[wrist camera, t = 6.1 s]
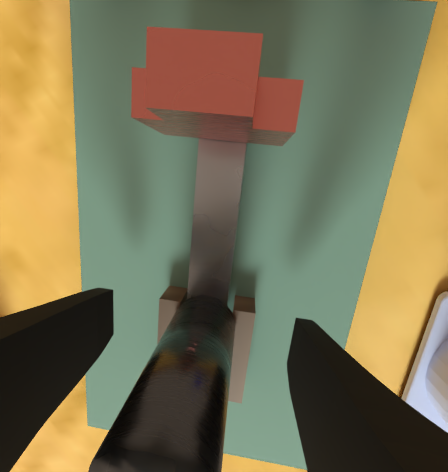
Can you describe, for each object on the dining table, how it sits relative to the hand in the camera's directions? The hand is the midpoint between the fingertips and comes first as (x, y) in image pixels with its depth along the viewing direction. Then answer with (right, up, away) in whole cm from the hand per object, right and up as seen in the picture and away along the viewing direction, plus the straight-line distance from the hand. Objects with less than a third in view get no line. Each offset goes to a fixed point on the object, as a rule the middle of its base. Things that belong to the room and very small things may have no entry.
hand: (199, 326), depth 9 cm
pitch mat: (+1, +2, +4) cm, 4 cm away
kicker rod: (+1, +3, +2) cm, 4 cm away
